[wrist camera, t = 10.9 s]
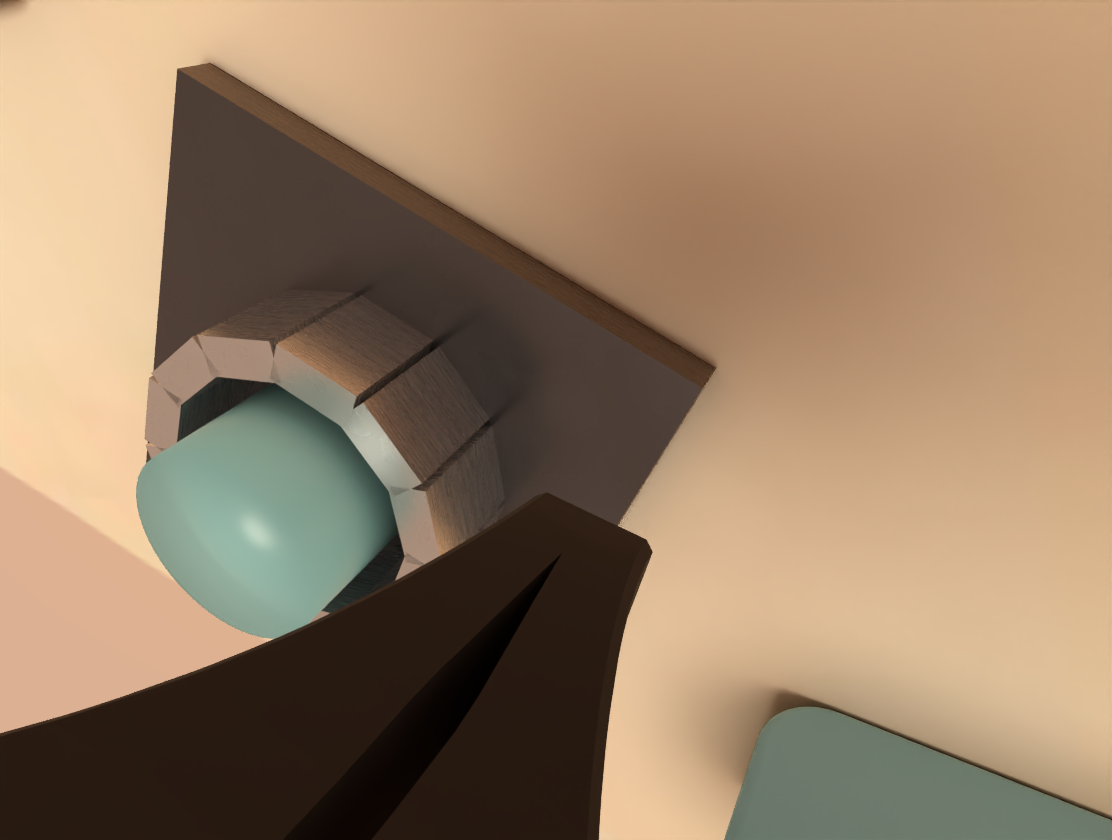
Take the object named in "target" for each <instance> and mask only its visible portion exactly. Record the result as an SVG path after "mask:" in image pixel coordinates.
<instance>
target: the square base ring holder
mask: <svg viewBox="0 0 1112 840" xmlns="http://www.w3.org/2000/svg"><path fill="white" fill-rule="evenodd" d="M715 369H716V368H714V367H712V366H711V365H709V364H707V363H706V362H704V361H702V360H701V359H699V358H697V357H696V356H694V355H693V354H691V353H689V352H688V351H686V350H684V349H683V348H681V347H679V346H678V345H676V344H674V343H673V342H671V341H669V340H668V339H666V338H664V337H663V336H661V335H659V334H658V333H656V332H654V331H653V330H651V329H649V328H648V327H646V326H644V325H643V324H641V323H639V322H638V321H636V320H634V319H633V318H631V317H630V316H628V315H626V314H625V313H623V312H621V311H620V310H618V309H616V308H615V307H613V306H611V305H610V304H608V303H606V302H605V301H603V300H601V299H600V298H598V297H596V296H595V295H593V294H591V293H590V292H588V291H586V290H585V289H583V288H581V287H580V286H578V285H576V284H575V283H573V282H572V281H570V280H568V279H567V278H565V277H563V276H562V275H560V274H558V273H557V272H555V271H553V270H552V269H550V268H548V267H547V266H545V265H543V264H542V263H540V262H538V261H537V260H535V259H533V258H532V257H530V256H528V255H527V254H525V253H523V252H522V251H520V250H518V249H517V248H515V247H513V246H512V245H510V244H509V243H507V242H505V241H504V240H502V239H500V238H499V237H497V236H495V235H494V234H492V233H490V232H489V231H487V230H485V229H484V228H482V227H480V226H479V225H477V224H475V223H474V222H472V221H470V220H469V219H467V218H465V217H464V216H462V215H460V214H459V213H457V212H455V211H454V210H452V209H451V208H449V207H447V206H446V205H444V204H442V203H441V202H439V201H437V200H436V199H434V198H432V197H431V196H429V195H427V194H426V193H424V192H422V191H421V190H419V189H417V188H416V187H414V186H412V185H411V184H409V183H407V182H406V181H404V180H402V179H401V178H399V177H397V176H396V175H394V174H392V173H391V172H389V171H388V170H386V169H384V168H383V167H381V166H379V165H378V164H376V163H374V162H373V161H371V160H369V159H368V158H366V157H364V156H363V155H361V154H359V153H358V152H356V151H354V150H353V149H351V148H349V147H348V146H346V145H344V144H343V143H341V142H339V141H338V140H336V139H334V138H333V137H331V136H330V135H328V134H326V133H325V132H323V131H321V130H320V129H318V128H316V127H315V126H313V125H311V124H310V123H308V122H306V121H305V120H303V119H301V118H300V117H298V116H296V115H295V114H293V113H291V112H290V111H288V110H286V109H285V108H283V107H281V106H280V105H278V104H276V103H275V102H273V101H272V100H270V99H268V98H267V97H265V96H263V95H262V94H260V93H258V92H257V91H255V90H253V89H252V88H250V87H248V86H247V85H245V84H243V83H242V82H240V81H238V80H237V79H235V78H233V77H232V76H230V75H228V74H227V73H225V72H223V71H222V70H220V69H218V68H217V67H215V66H213V65H212V64H210V63H208V64H202V65H197V66H191V67H185V68H179V69H177V80H176V93H175V105H174V118H173V131H172V143H171V156H170V169H169V181H168V194H167V207H166V219H165V232H164V245H163V257H162V270H161V283H160V295H159V308H158V321H157V333H156V346H155V358H154V371H153V372H152V375H153V376H152V377H150V378H149V388H148V401H147V414H146V427H145V440H147V441H148V444H147V445H146V447H147V460H146V463H147V462H148V461H149V460H151V459H152V458H153V457H155V456H156V455H158V454H160V453H161V452H163V451H164V450H166V449H168V448H169V447H171V446H172V445H174V444H176V443H177V442H179V441H180V440H182V439H184V438H185V437H187V436H188V435H190V434H192V433H193V432H195V431H196V430H198V429H200V428H201V427H203V426H204V425H206V424H208V423H209V422H211V421H212V420H214V419H216V418H217V417H219V416H220V415H222V414H224V413H225V412H227V411H228V410H230V409H232V408H233V407H235V406H236V405H238V404H240V403H241V402H243V401H244V400H246V399H248V398H249V397H251V396H252V395H254V394H256V393H257V392H259V391H260V390H262V389H264V388H265V387H267V386H268V385H270V384H272V383H276V384H278V385H279V386H281V387H282V388H284V389H285V390H287V391H288V392H290V393H291V394H293V395H294V396H296V397H297V398H299V399H300V400H302V401H303V402H305V403H306V404H308V405H310V406H311V407H313V408H314V409H316V410H317V411H319V412H320V413H322V414H323V415H325V416H326V417H328V418H329V419H331V420H332V421H334V422H335V423H337V424H338V425H340V426H341V427H342V429H343V430H344V431H345V433H346V434H347V435H348V437H349V438H350V439H351V441H352V442H353V444H354V445H355V446H356V448H357V449H358V450H359V452H360V453H361V454H362V456H363V457H364V459H365V460H366V461H367V463H368V464H369V465H370V467H371V468H372V469H373V471H374V472H375V473H376V475H377V476H378V478H379V479H380V480H381V482H382V483H383V484H384V486H385V487H386V488H387V490H388V491H389V494H390V498H391V503H392V507H393V511H394V515H395V519H396V523H397V527H398V531H399V533H398V534H397V535H396V536H395V537H394V538H393V539H392V540H391V541H390V542H389V543H388V544H387V545H386V546H385V547H384V548H383V549H382V550H381V551H380V552H379V553H378V554H377V555H376V556H375V557H374V558H373V559H372V560H371V561H370V562H369V563H368V564H367V565H366V566H365V567H364V568H363V569H362V570H361V571H360V572H359V573H358V574H357V575H356V576H355V577H354V578H353V579H352V580H351V581H350V582H349V583H348V584H347V585H346V586H345V587H344V588H343V589H342V590H341V591H340V592H339V593H338V594H337V595H336V596H335V597H334V598H333V599H332V600H331V601H330V602H329V603H328V604H327V605H326V606H325V607H324V608H323V609H322V610H321V611H320V613H319V614H318V615H317V616H316V617H315V618H314V619H313V620H312V621H311V622H313V621H315V620H317V619H319V618H321V617H324V616H326V615H328V614H330V613H332V612H334V611H336V610H338V609H340V608H342V607H344V606H346V605H348V604H350V603H352V602H354V601H356V600H358V599H360V598H362V597H364V596H366V595H368V594H370V593H372V592H374V591H376V590H378V589H380V588H382V587H384V586H386V585H388V584H390V583H392V582H394V581H396V580H397V579H399V578H401V577H403V576H405V575H406V574H408V573H410V572H412V571H413V570H415V569H417V568H419V567H421V566H422V565H424V564H426V563H428V562H430V561H431V560H433V559H435V558H437V557H439V556H440V555H442V554H444V553H446V552H448V551H449V550H451V549H453V548H454V547H456V546H458V545H459V544H461V543H463V542H464V541H466V540H468V539H469V538H471V537H473V536H474V535H476V534H478V533H479V532H481V531H482V530H484V529H486V528H487V527H489V526H491V525H492V524H494V523H495V522H497V521H498V520H500V519H502V518H503V517H505V516H506V515H508V514H509V513H511V512H512V511H514V510H515V509H517V508H518V507H520V506H521V505H523V504H524V503H526V502H527V501H529V500H530V499H532V498H533V497H535V496H536V495H540V494H543V493H546V492H547V493H550V494H552V495H554V496H556V497H558V498H560V499H562V500H564V501H566V502H568V503H571V504H573V505H575V506H577V507H579V508H581V509H583V510H585V511H587V512H589V513H591V514H594V515H596V516H598V517H600V518H602V519H604V520H606V521H608V522H610V523H612V524H615V525H617V526H618V524H619V523H620V521H621V520H622V518H623V516H624V515H625V513H626V512H627V510H628V508H629V507H630V505H631V504H632V502H633V500H634V499H635V497H636V496H637V494H638V492H639V491H640V489H641V488H642V486H643V484H644V483H645V481H646V480H647V478H648V476H649V475H650V473H651V472H652V470H653V468H654V467H655V465H656V464H657V462H658V460H659V459H660V457H661V456H662V454H663V452H664V451H665V449H666V448H667V446H668V444H669V443H670V441H671V440H672V438H673V436H674V435H675V433H676V432H677V430H678V428H679V427H680V425H681V424H682V422H683V420H684V419H685V417H686V416H687V414H688V412H689V411H690V409H691V408H692V406H693V404H694V403H695V401H696V400H697V398H698V396H699V395H700V393H701V392H702V390H703V388H704V387H705V385H706V383H707V382H708V380H709V379H710V377H711V375H712V374H713V372H714V371H715ZM311 622H310V623H311Z"/></svg>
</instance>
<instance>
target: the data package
mask: <svg viewBox="0 0 1112 840" xmlns="http://www.w3.org/2000/svg"><path fill="white" fill-rule="evenodd" d="M724 840H1112V820H1110V819H1107V818H1105V817H1102V816H1100V815H1097V814H1095V813H1092V812H1090V811H1087V810H1084V809H1082V808H1079V807H1077V806H1074V805H1072V804H1069V803H1067V802H1064V801H1062V800H1059V799H1057V798H1054V797H1052V796H1049V795H1046V794H1044V793H1041V792H1039V791H1036V790H1034V789H1031V788H1029V787H1026V786H1024V785H1021V784H1019V783H1016V782H1014V781H1011V780H1008V779H1006V778H1003V777H1001V776H998V775H996V774H993V773H991V772H988V771H986V770H983V769H981V768H978V767H976V766H973V765H970V764H968V763H965V762H963V761H960V760H958V759H955V758H953V757H950V756H948V755H945V754H943V753H940V752H938V751H935V750H932V749H930V748H927V747H925V746H922V745H920V744H917V743H915V742H912V741H910V740H907V739H905V738H902V737H900V736H897V735H894V734H892V733H889V732H887V731H884V730H882V729H879V728H877V727H874V726H872V725H869V724H867V723H864V722H862V721H859V720H856V719H854V718H851V717H849V716H846V715H844V714H841V713H839V712H836V711H833V710H829V709H825V708H819V707H796V708H792V709H788V710H785V711H783V712H781V713H779V714H777V715H775V716H774V717H773V718H771V719H770V720H769V721H768V722H767V723H766V724H765V726H764V727H763V729H762V730H761V732H760V734H759V737H758V739H757V742H756V745H755V748H754V751H753V754H752V757H751V760H750V763H749V766H748V769H747V772H746V775H745V778H744V781H743V784H742V787H741V790H740V793H739V796H738V799H737V802H736V805H735V808H734V811H733V814H732V817H731V820H730V823H729V826H728V829H727V832H726V835H725V839H724Z"/></svg>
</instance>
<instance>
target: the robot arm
mask: <svg viewBox="0 0 1112 840" xmlns="http://www.w3.org/2000/svg"><path fill="white" fill-rule="evenodd" d="M651 555H652V550H651V548H650V546H649V544H648V542H647V540H646V539H644V538H642V537H640V536H638V535H636V534H633V533H631V532H629V531H627V530H625V529H623V528H621V527H619V526H617V525H615V524H612V523H610V522H608V521H606V520H604V519H602V518H600V517H598V516H596V515H594V514H591V513H589V512H587V511H585V510H583V509H581V508H579V507H577V506H575V505H573V504H571V503H568V502H566V501H564V500H562V499H560V498H558V497H556V496H554V495H552V494H550V493H547V492H546V493H543V494H540V495H536V496H535V497H533V498H532V499H530V500H529V501H527V502H526V503H524V504H523V505H521V506H520V507H518V508H517V509H515V510H514V511H512V512H511V513H509V514H508V515H506V516H505V517H503V518H502V519H500V520H498V521H497V522H495V523H494V524H492V525H491V526H489V527H487V528H486V529H484V530H482V531H481V532H479V533H478V534H476V535H474V536H473V537H471V538H469V539H468V540H466V541H464V542H463V543H461V544H459V545H458V546H456V547H454V548H453V549H451V550H449V551H448V552H446V553H444V554H442V555H440V556H439V557H437V558H435V559H433V560H431V561H430V562H428V563H426V564H424V565H422V566H421V567H419V568H417V569H415V570H413V571H412V572H410V573H408V574H406V575H405V576H403V577H401V578H399V579H397V580H396V581H394V582H392V583H390V584H388V585H386V586H384V587H382V588H380V589H378V590H376V591H374V592H372V593H370V594H368V595H366V596H364V597H362V598H360V599H358V600H356V601H354V602H352V603H350V604H348V605H346V606H344V607H342V608H340V609H338V610H336V611H334V612H332V613H330V614H328V615H326V616H324V617H321V618H319V619H317V620H315V621H313V622H311V623H309V624H307V625H305V626H302V627H300V628H298V629H296V630H293V631H291V632H289V633H287V634H284V635H282V636H280V637H278V638H275V639H273V640H271V641H268V642H266V643H264V644H262V645H259V646H257V647H254V648H252V649H250V650H247V651H245V652H242V653H239V654H237V655H234V656H232V657H229V658H227V659H224V660H222V661H220V662H217V663H214V664H212V665H209V666H207V667H204V668H202V669H199V670H196V671H194V672H191V673H188V674H185V675H182V676H179V677H177V678H174V679H171V680H168V681H165V682H163V683H160V684H157V685H154V686H152V687H149V688H146V689H143V690H140V691H137V692H134V693H132V694H129V695H126V696H123V697H120V698H117V699H114V700H111V701H108V702H105V703H102V704H99V705H96V706H93V707H90V708H86V709H83V710H80V711H77V712H74V713H70V714H67V715H64V716H61V717H57V718H53V719H50V720H46V721H43V722H39V723H36V724H32V725H29V726H25V727H21V728H18V729H14V730H11V731H7V732H4V733H0V840H599V824H600V809H601V794H602V783H603V771H604V760H605V749H606V740H607V731H608V723H609V714H610V708H611V701H612V695H613V688H614V682H615V676H616V669H617V663H618V657H619V652H620V647H621V642H622V637H623V633H624V629H625V625H626V621H627V617H628V615H629V612H630V609H631V607H632V604H633V602H634V599H635V596H636V594H637V591H638V589H639V586H640V583H641V581H642V578H643V576H644V573H645V571H646V568H647V565H648V563H649V560H650V558H651Z"/></svg>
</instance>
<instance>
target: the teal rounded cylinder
mask: <svg viewBox="0 0 1112 840" xmlns="http://www.w3.org/2000/svg"><path fill="white" fill-rule="evenodd" d="M136 498H137V507H138V512H139V516H140V519H141V522H142V525H143V528H144V531H145V533H146V535H147V538H148V540H149V542H150V544H151V545H152V547H153V549H154V551H155V553H156V554H157V556H158V557H159V559H160V561H161V562H162V564H163V565H164V566H165V568H166V569H167V570H168V572H169V573H170V574H171V576H172V577H173V578H174V579H175V580H176V582H177V583H178V584H179V585H180V586H181V587H182V588H183V589H184V590H185V591H186V592H187V593H188V594H189V595H190V596H191V597H192V598H193V599H194V600H195V601H196V602H197V603H198V604H200V605H201V606H202V607H203V608H205V609H206V610H207V611H208V612H210V613H211V614H213V615H214V616H215V617H217V618H218V619H220V620H222V621H223V622H225V623H227V624H228V625H230V626H232V627H234V628H236V629H238V630H240V631H243V632H246V633H248V634H251V635H254V636H258V637H263V638H271V639H275V638H278V637H280V636H282V635H284V634H287V633H289V632H291V631H293V630H296V629H298V628H300V627H302V626H305V625H307V624H309V623H310V622H311V621H312V620H313V619H314V618H315V617H316V616H317V615H318V614H319V613H320V611H321V610H322V609H323V608H324V607H325V606H326V605H327V604H328V603H329V602H330V601H331V600H332V599H333V598H334V597H335V596H336V595H337V594H338V593H339V592H340V591H341V590H342V589H343V588H344V587H345V586H346V585H347V584H348V583H349V582H350V581H351V580H352V579H353V578H354V577H355V576H356V575H357V574H358V573H359V572H360V571H361V570H362V569H363V568H364V567H365V566H366V565H367V564H368V563H369V562H370V561H371V560H372V559H373V558H374V557H375V556H376V555H377V554H378V553H379V552H380V551H381V550H382V549H383V548H384V547H385V546H386V545H387V544H388V543H389V542H390V541H391V540H392V539H393V538H394V537H395V536H396V535H397V534H398V533H399V531H398V527H397V523H396V519H395V515H394V511H393V507H392V503H391V498H390V494H389V491H388V490H387V488H386V487H385V486H384V484H383V483H382V482H381V480H380V479H379V478H378V476H377V475H376V473H375V472H374V471H373V469H372V468H371V467H370V465H369V464H368V463H367V461H366V460H365V459H364V457H363V456H362V454H361V453H360V452H359V450H358V449H357V448H356V446H355V445H354V444H353V442H352V441H351V439H350V438H349V437H348V435H347V434H346V433H345V431H344V430H343V429H342V427H341V426H340V425H338V424H337V423H335V422H334V421H332V420H331V419H329V418H328V417H326V416H325V415H323V414H322V413H320V412H319V411H317V410H316V409H314V408H313V407H311V406H310V405H308V404H306V403H305V402H303V401H302V400H300V399H299V398H297V397H296V396H294V395H293V394H291V393H290V392H288V391H287V390H285V389H284V388H282V387H281V386H279V385H278V384H276V383H272V384H270V385H268V386H267V387H265V388H264V389H262V390H260V391H259V392H257V393H256V394H254V395H252V396H251V397H249V398H248V399H246V400H244V401H243V402H241V403H240V404H238V405H236V406H235V407H233V408H232V409H230V410H228V411H227V412H225V413H224V414H222V415H220V416H219V417H217V418H216V419H214V420H212V421H211V422H209V423H208V424H206V425H204V426H203V427H201V428H200V429H198V430H196V431H195V432H193V433H192V434H190V435H188V436H187V437H185V438H184V439H182V440H180V441H179V442H177V443H176V444H174V445H172V446H171V447H169V448H168V449H166V450H164V451H163V452H161V453H160V454H158V455H156V456H155V457H153V458H152V459H151V460H149V461H148V462H147V463H146V464H145V466H144V467H143V468H142V470H141V472H140V475H139V477H138V482H137V488H136Z"/></svg>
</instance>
